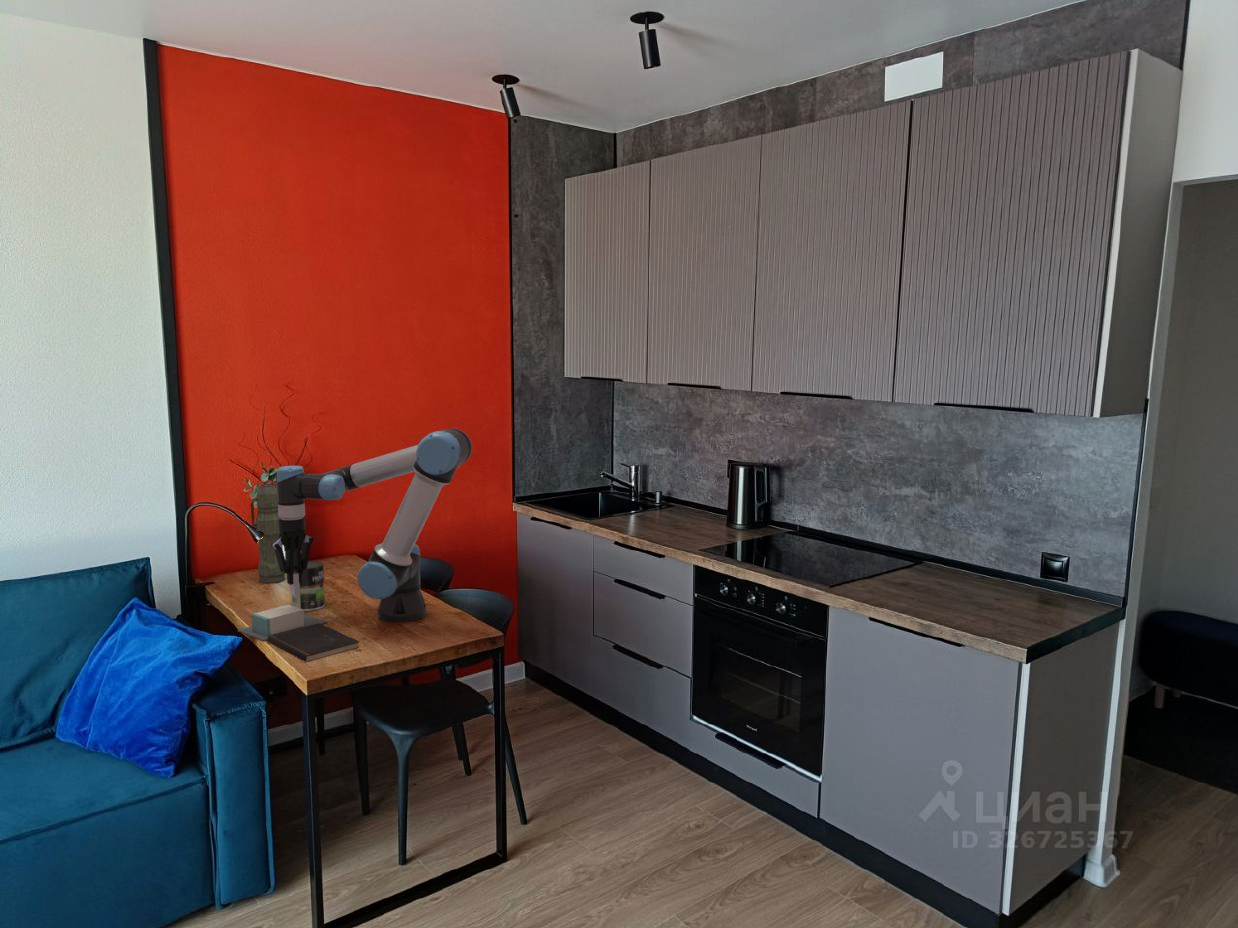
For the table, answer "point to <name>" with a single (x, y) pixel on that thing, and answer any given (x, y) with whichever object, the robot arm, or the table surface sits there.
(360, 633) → the table surface
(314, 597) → the coffee can
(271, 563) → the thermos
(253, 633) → the mat
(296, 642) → the hardcover book
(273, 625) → the slab
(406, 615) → the robot arm
